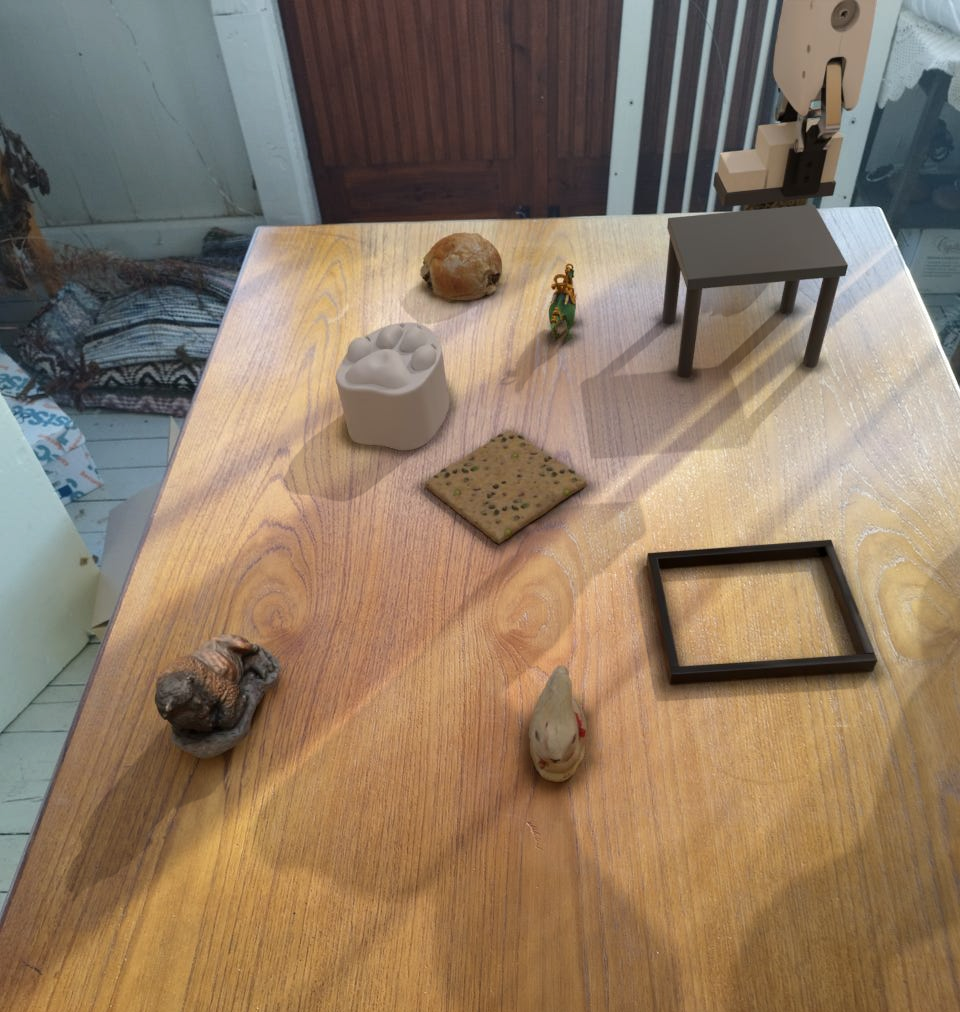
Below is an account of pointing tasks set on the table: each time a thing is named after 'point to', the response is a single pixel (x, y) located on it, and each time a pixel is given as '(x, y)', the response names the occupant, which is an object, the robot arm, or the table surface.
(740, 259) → the small grey table
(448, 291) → the bread roll
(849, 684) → the table surface
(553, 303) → the figurine
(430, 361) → the lumpy-topped squat cylinder
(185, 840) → the table surface
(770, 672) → the black rectangular frame
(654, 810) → the table surface
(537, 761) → the chocolate bunny
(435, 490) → the cookie
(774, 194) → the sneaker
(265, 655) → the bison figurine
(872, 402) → the table surface
